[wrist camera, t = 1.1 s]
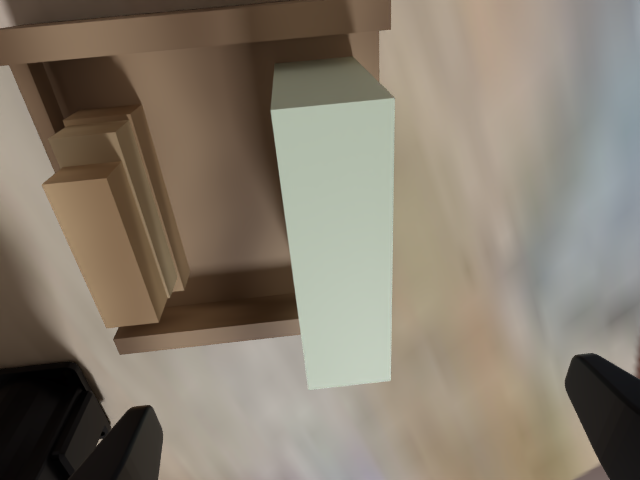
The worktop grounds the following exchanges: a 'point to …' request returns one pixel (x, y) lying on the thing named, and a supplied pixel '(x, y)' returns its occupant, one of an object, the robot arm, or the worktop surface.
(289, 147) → the pale grey rectangular block
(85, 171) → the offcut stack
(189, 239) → the rack
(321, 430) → the worktop surface
